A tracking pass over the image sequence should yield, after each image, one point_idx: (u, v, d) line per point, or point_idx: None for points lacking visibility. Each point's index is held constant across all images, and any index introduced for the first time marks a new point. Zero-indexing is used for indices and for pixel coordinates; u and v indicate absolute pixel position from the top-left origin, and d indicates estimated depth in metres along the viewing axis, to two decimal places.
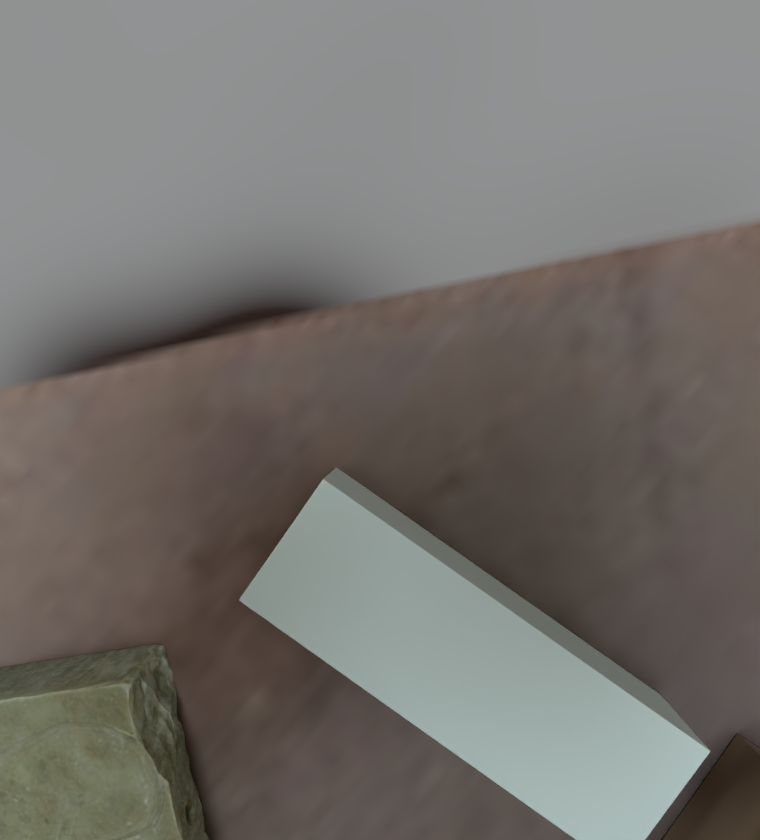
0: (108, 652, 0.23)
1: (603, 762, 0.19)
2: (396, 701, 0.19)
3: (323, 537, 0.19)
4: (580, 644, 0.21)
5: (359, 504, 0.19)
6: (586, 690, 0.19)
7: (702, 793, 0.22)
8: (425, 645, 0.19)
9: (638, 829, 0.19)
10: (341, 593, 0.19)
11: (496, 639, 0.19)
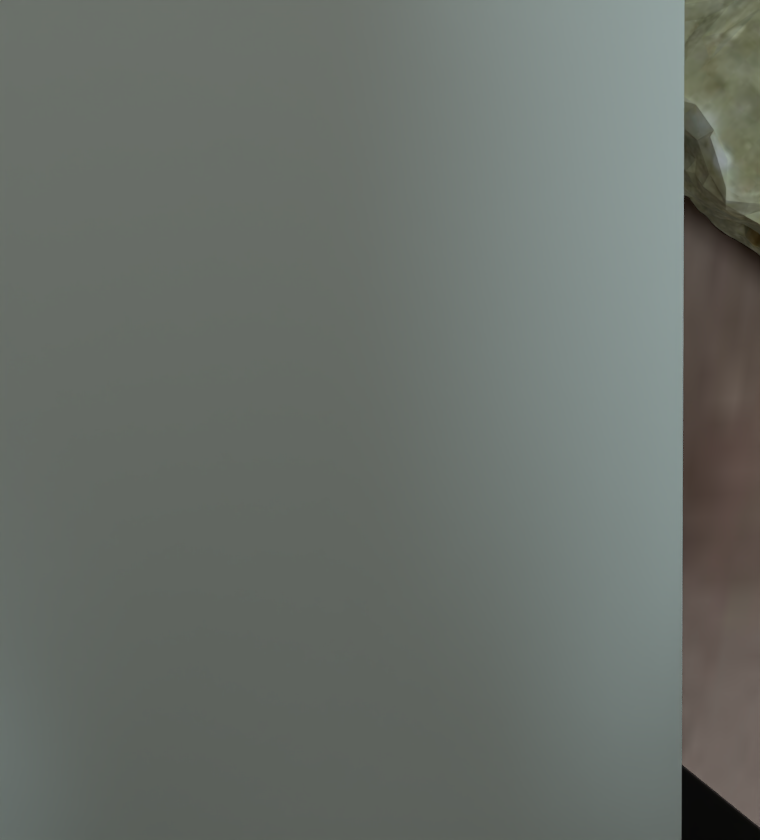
0: None
1: None
2: None
3: (362, 122, 0.03)
4: None
5: (676, 159, 0.03)
6: None
7: None
8: None
9: None
10: (189, 449, 0.03)
11: None
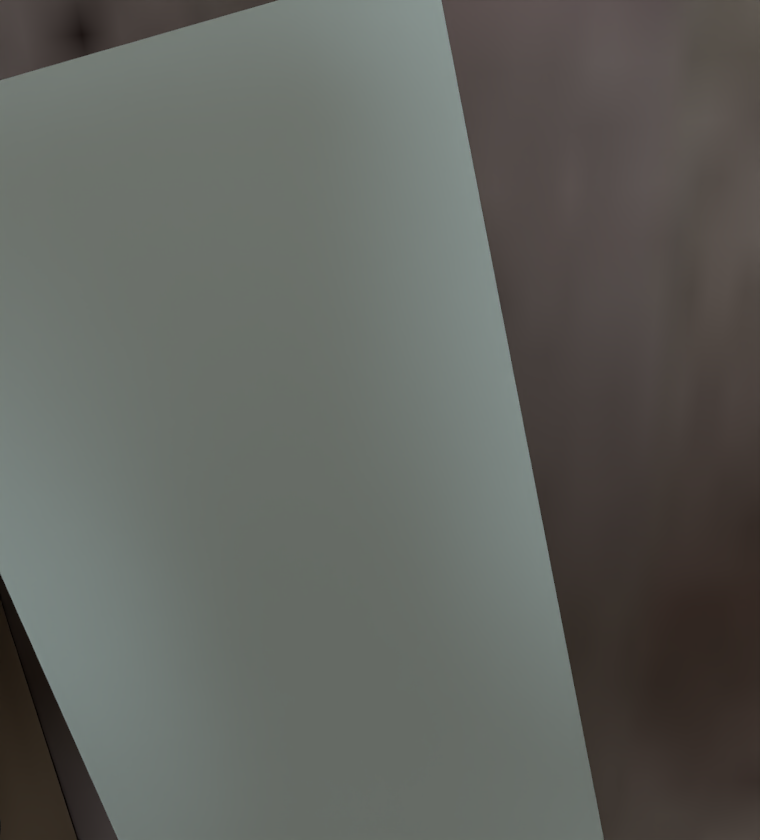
0: None
1: None
2: (117, 770, 0.06)
3: (263, 173, 0.04)
4: None
5: (471, 170, 0.04)
6: None
7: None
8: (305, 707, 0.06)
9: None
10: (184, 399, 0.05)
11: (496, 820, 0.06)
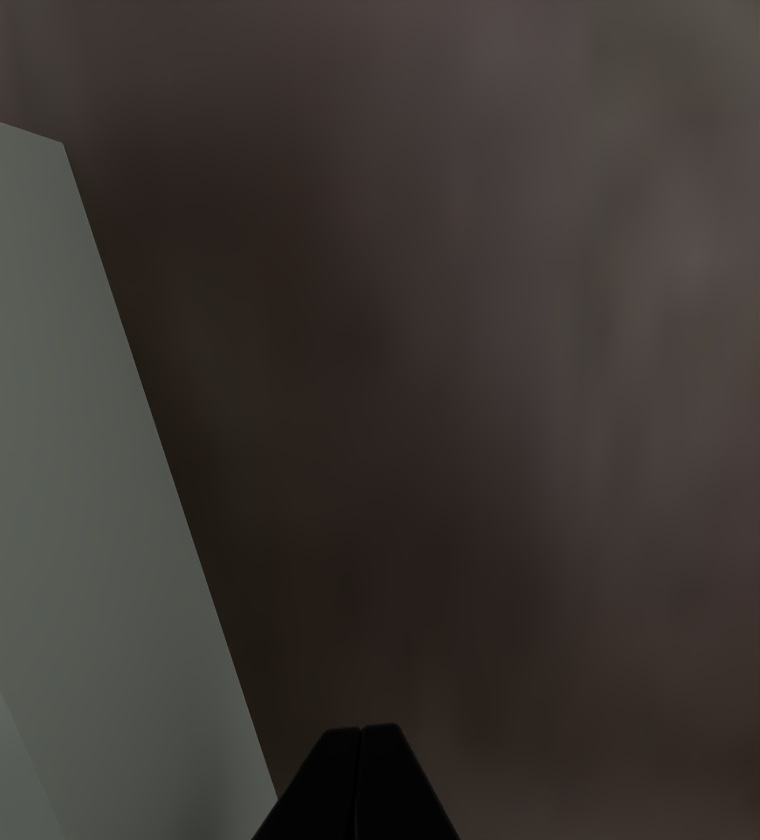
0: None
1: None
2: None
3: None
4: None
5: None
6: None
7: None
8: None
9: None
10: None
11: None
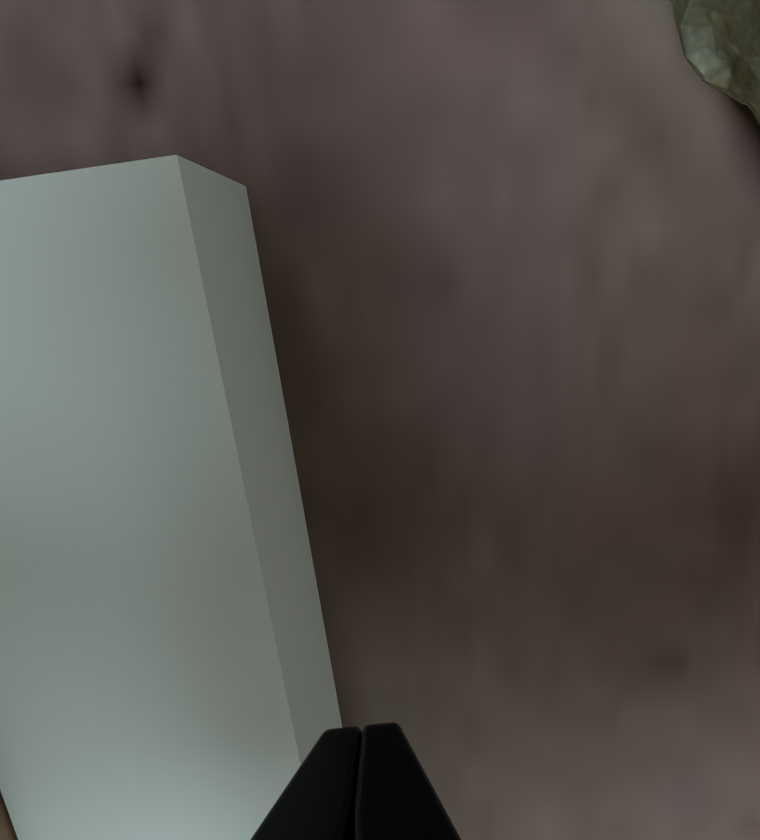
0: None
1: None
2: None
3: (74, 263, 0.07)
4: None
5: (201, 275, 0.07)
6: None
7: None
8: (92, 601, 0.09)
9: None
10: (20, 394, 0.08)
11: (218, 692, 0.09)
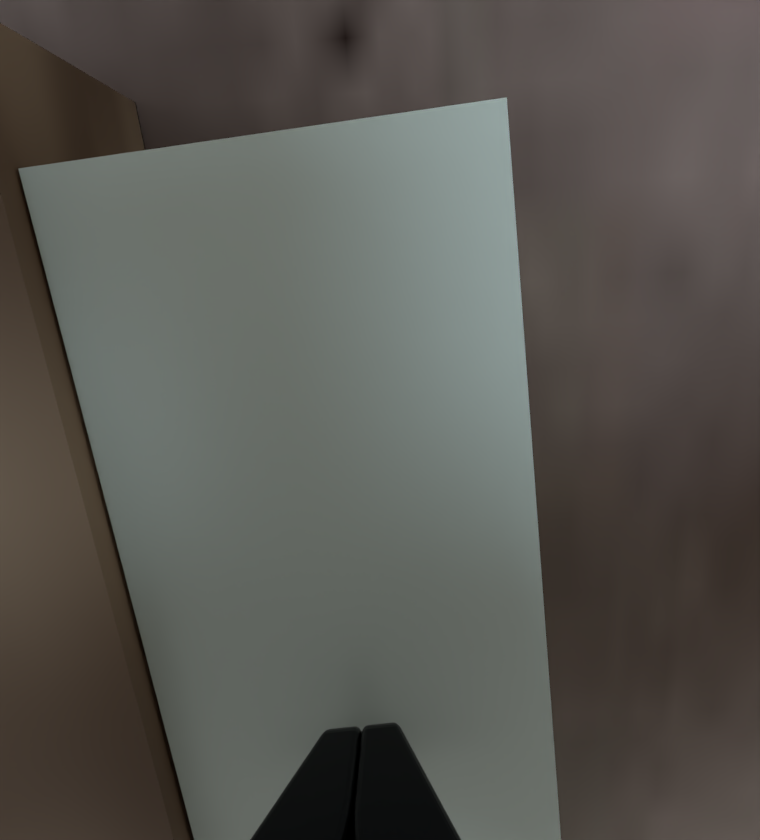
0: None
1: None
2: (177, 685, 0.07)
3: (363, 235, 0.06)
4: None
5: (515, 250, 0.06)
6: None
7: None
8: (336, 647, 0.07)
9: None
10: (276, 397, 0.06)
11: (473, 752, 0.07)
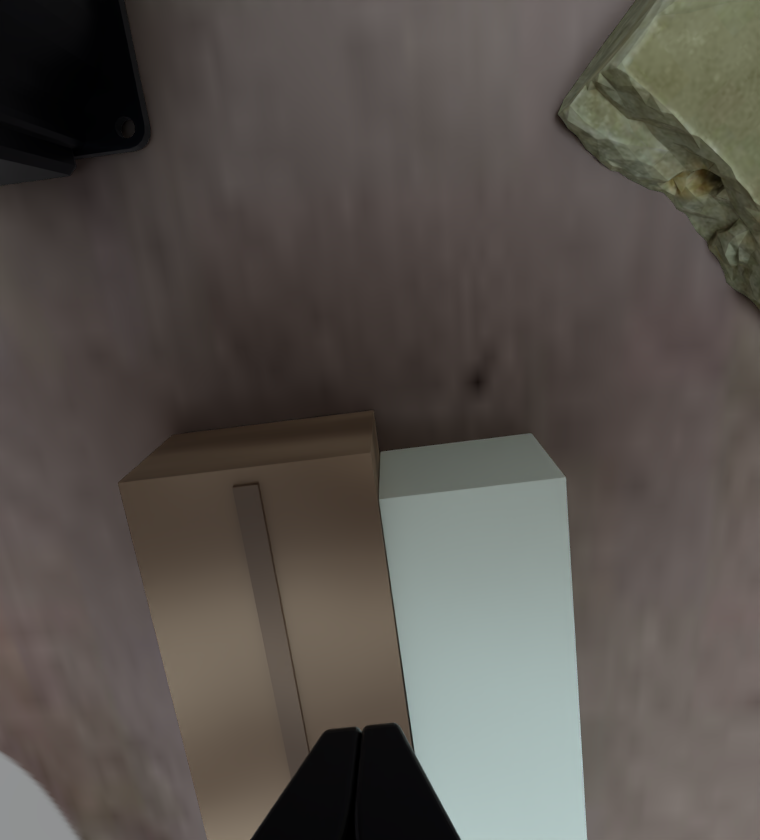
0: None
1: None
2: (416, 695, 0.17)
3: (508, 522, 0.15)
4: None
5: (567, 527, 0.15)
6: (562, 813, 0.18)
7: None
8: (487, 679, 0.17)
9: None
10: (470, 579, 0.16)
11: (544, 725, 0.17)
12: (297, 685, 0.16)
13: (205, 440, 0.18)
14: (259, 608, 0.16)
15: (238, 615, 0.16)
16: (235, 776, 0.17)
